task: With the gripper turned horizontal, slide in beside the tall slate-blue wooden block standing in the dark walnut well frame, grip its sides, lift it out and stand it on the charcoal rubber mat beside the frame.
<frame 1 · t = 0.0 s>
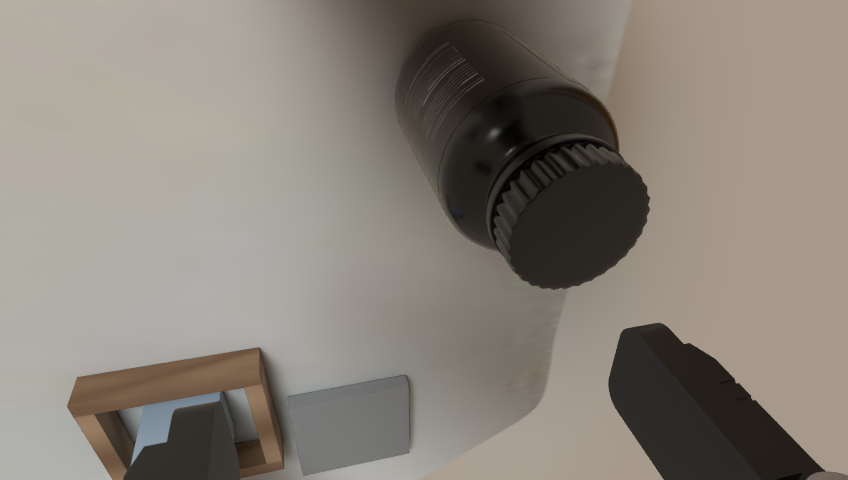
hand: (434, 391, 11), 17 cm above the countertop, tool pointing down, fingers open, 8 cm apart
supplement bottle: (461, 89, 26), on the countertop
charcoal mat: (352, 421, 38), on the countertop
well frame: (192, 414, 34), on the countertop
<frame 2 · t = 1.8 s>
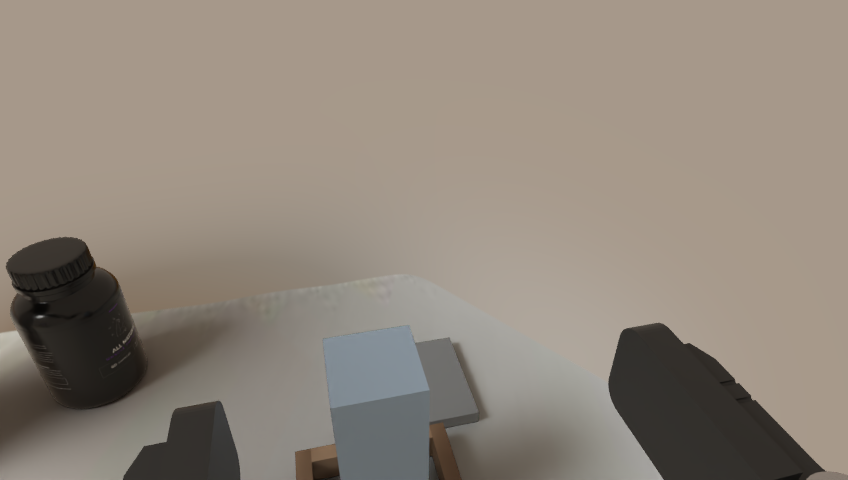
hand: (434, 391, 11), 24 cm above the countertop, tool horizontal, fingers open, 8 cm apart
slate block: (379, 454, 29), in the well frame
supplement bottle: (104, 379, 43), on the countertop
charcoal mat: (413, 389, 42), on the countertop
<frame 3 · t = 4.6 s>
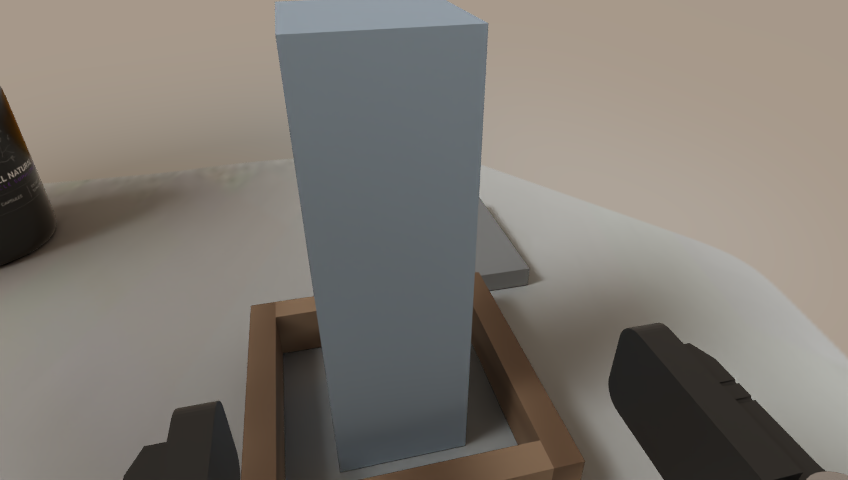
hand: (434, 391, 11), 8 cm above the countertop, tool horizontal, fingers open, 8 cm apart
slate block: (383, 255, 16), in the well frame
charcoal mat: (430, 252, 29), on the countertop
well frame: (392, 408, 20), on the countertop
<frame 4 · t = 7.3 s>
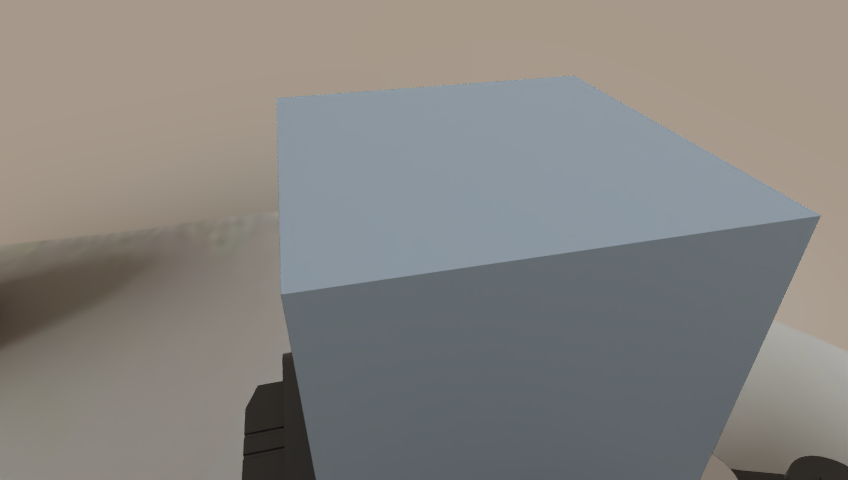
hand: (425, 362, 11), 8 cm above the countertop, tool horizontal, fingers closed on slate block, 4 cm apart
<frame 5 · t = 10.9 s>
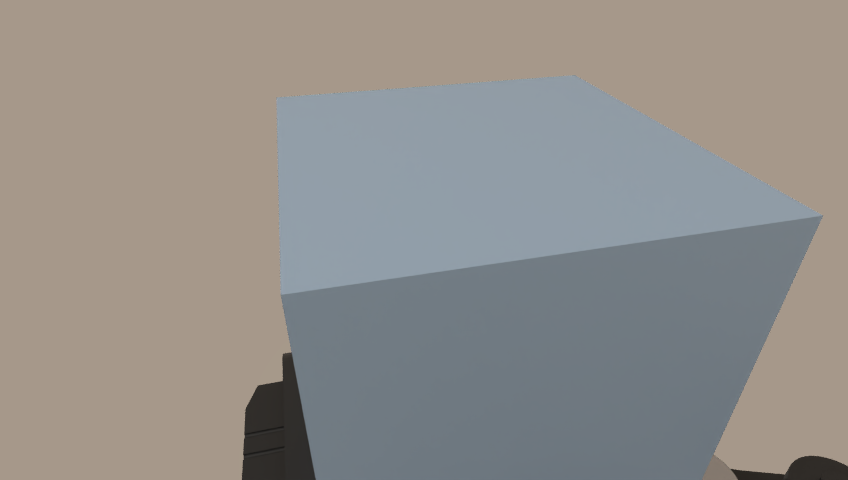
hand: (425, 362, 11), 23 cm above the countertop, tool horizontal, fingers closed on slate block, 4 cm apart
when the fingers open (10 cm above the countertop, at t = 14.5 s): slate block drops 1 cm, resting on charcoal mat.
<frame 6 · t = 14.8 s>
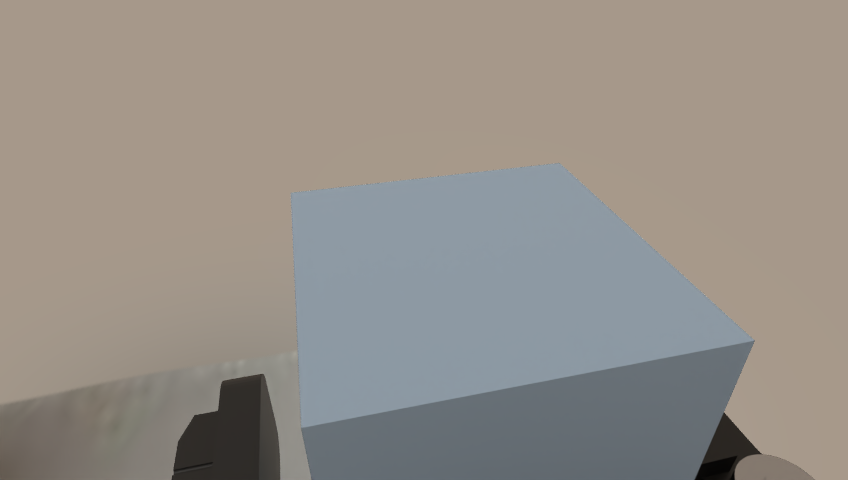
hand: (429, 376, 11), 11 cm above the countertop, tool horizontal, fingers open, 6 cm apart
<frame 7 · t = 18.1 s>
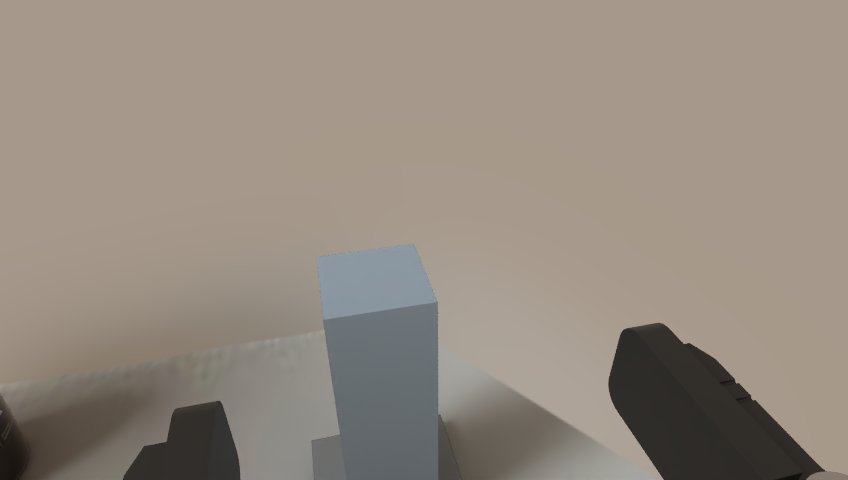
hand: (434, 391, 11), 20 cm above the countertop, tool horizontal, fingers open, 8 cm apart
slate block: (382, 395, 26), on the charcoal mat, point 8 cm above the countertop
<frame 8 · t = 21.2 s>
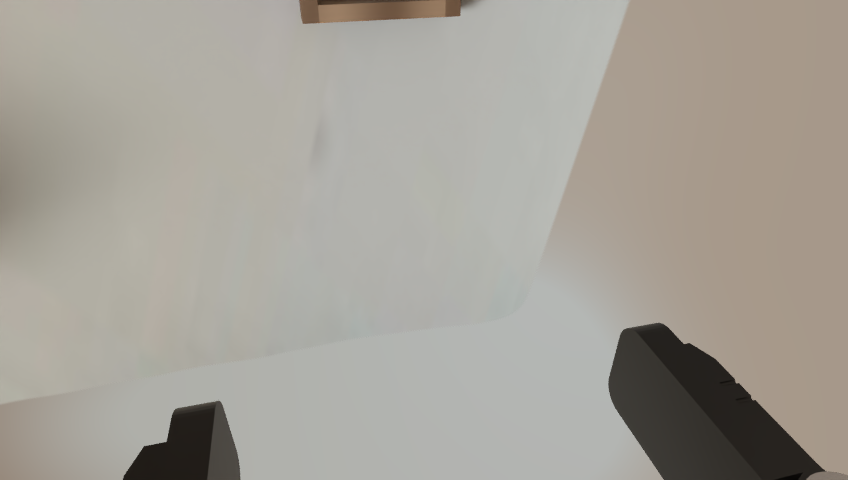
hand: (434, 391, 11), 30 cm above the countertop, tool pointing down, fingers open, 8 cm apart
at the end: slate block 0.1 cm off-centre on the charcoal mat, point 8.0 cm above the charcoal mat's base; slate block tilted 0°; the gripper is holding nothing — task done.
